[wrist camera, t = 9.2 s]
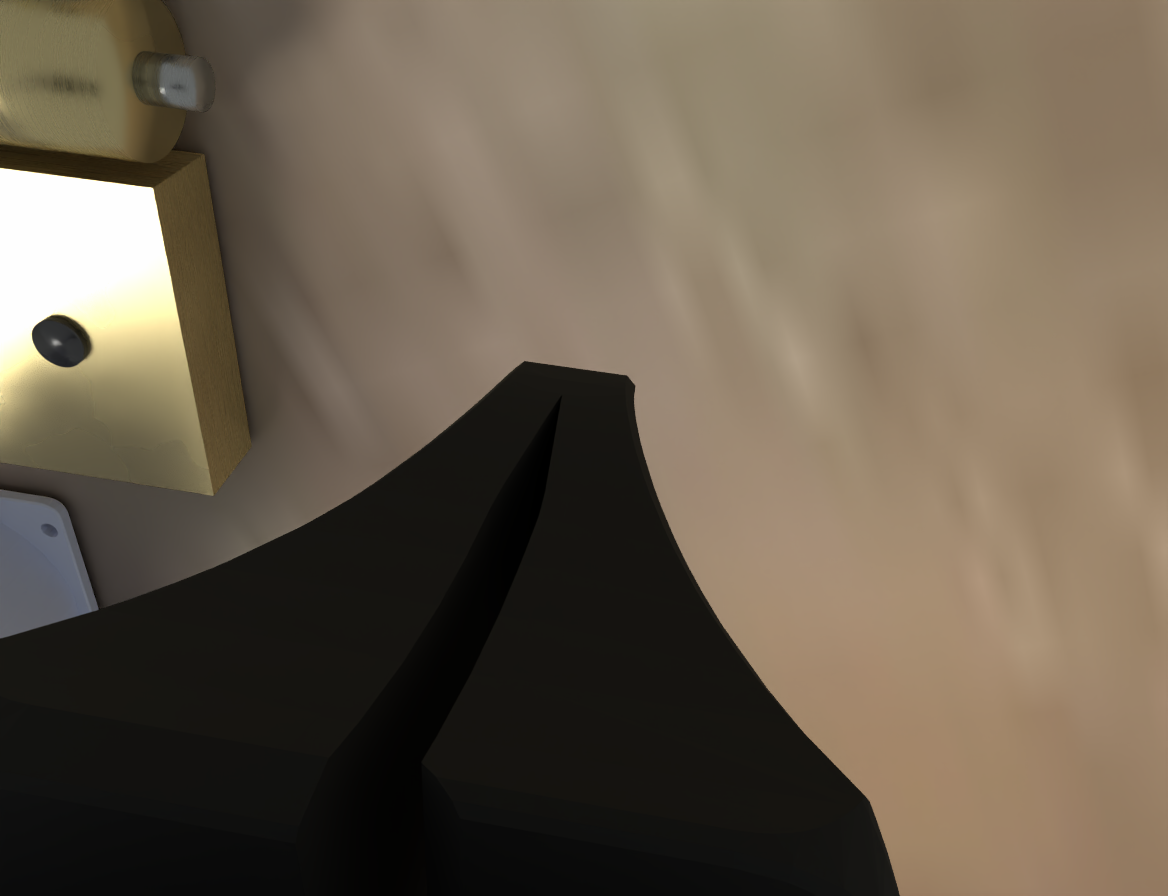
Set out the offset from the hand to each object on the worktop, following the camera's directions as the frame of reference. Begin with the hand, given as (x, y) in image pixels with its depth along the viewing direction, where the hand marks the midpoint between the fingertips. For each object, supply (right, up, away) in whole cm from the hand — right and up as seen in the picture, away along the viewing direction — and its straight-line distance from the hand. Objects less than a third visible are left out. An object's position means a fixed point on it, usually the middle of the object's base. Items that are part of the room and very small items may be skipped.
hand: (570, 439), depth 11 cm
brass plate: (-14, +5, +11) cm, 19 cm away
